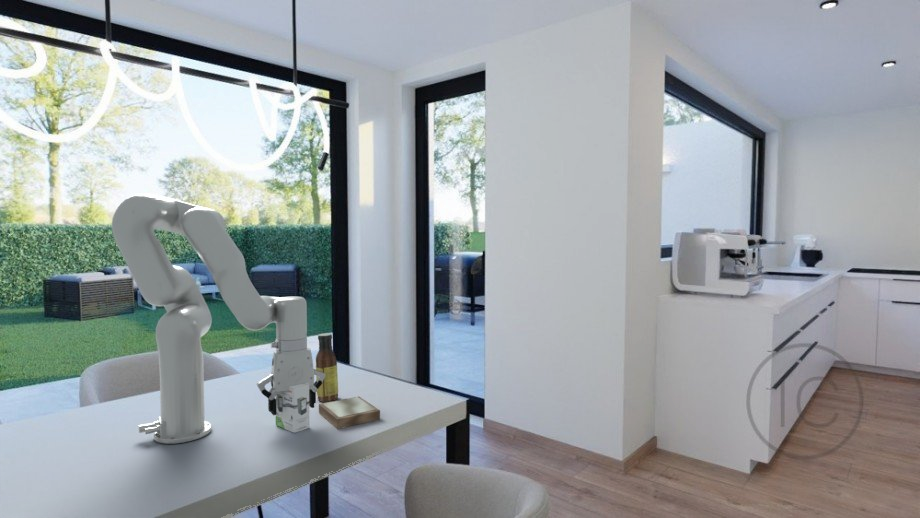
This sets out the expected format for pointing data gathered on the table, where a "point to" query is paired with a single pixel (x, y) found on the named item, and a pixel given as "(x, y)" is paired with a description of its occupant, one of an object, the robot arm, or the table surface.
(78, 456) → the table surface
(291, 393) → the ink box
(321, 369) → the sauce bottle
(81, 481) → the table surface
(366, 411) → the wooden tray
